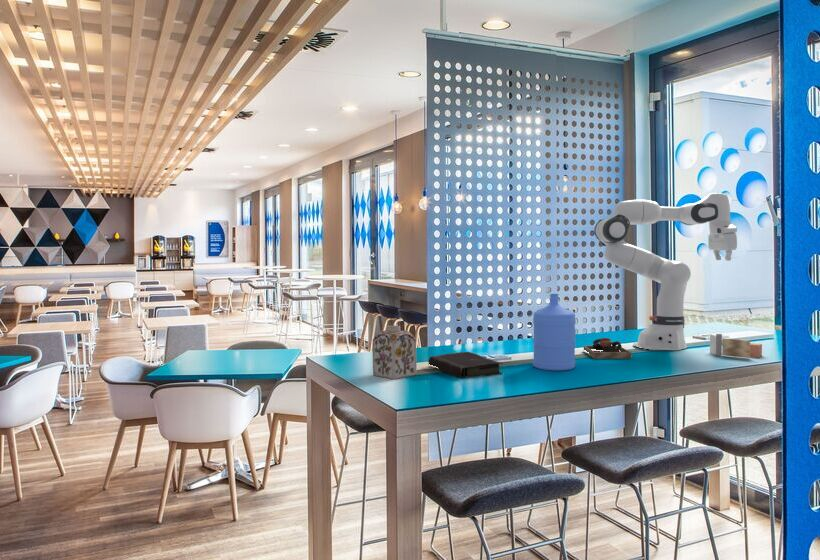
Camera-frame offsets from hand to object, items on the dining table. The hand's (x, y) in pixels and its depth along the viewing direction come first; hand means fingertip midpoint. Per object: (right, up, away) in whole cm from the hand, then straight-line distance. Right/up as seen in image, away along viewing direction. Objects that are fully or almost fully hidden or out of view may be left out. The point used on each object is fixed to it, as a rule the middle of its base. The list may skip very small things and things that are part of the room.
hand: (723, 260), depth 281 cm
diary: (-118, -43, -43) cm, 133 cm away
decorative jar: (-145, -44, -51) cm, 160 cm away
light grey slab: (-11, -40, -16) cm, 45 cm away
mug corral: (-56, -40, -15) cm, 71 cm away
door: (-6, -40, -23) cm, 47 cm away
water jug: (-84, -42, -40) cm, 102 cm away
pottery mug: (-56, -41, -15) cm, 71 cm away
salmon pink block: (+3, -40, -21) cm, 45 cm away
